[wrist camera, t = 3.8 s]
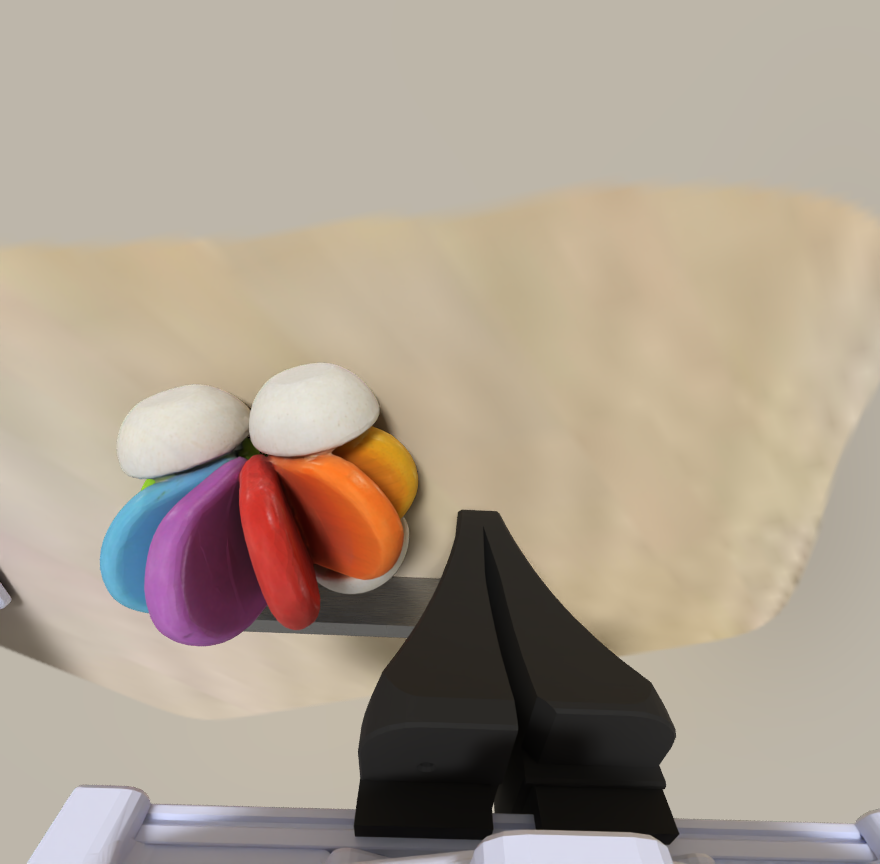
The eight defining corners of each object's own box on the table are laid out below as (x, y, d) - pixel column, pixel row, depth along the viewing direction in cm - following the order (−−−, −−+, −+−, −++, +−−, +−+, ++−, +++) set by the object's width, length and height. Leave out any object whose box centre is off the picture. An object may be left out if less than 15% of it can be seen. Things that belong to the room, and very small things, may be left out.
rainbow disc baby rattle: (437, 526, 17) (435, 706, 11) (230, 552, 18) (117, 734, 12) (394, 339, 13) (352, 452, 7) (131, 383, 14) (-123, 520, 8)
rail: (234, 581, 19) (207, 630, 17) (231, 569, 18) (203, 617, 16) (442, 590, 19) (443, 639, 17) (443, 579, 19) (444, 627, 16)
